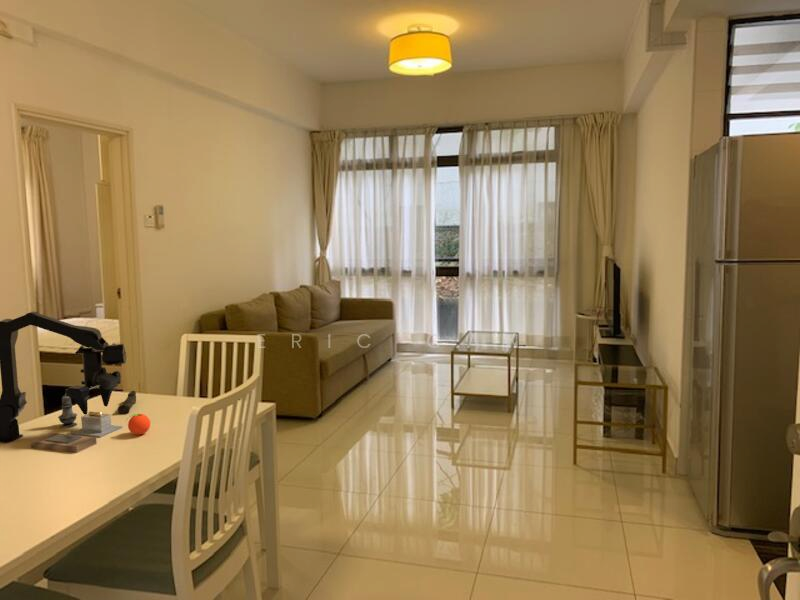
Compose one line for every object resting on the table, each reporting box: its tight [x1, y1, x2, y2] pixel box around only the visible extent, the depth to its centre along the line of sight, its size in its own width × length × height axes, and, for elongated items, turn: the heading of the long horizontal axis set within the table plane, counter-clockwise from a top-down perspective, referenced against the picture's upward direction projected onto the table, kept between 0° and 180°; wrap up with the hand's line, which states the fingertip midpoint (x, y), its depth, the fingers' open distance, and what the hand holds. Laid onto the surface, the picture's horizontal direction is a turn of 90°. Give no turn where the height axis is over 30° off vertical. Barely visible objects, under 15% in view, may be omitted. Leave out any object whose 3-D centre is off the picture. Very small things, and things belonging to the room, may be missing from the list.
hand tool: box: [117, 390, 137, 415], centre depth 230 cm, size 19×4×5 cm, turn 10°
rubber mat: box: [70, 424, 123, 438], centre depth 203 cm, size 12×10×1 cm
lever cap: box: [80, 411, 112, 433], centre depth 203 cm, size 8×4×6 cm, turn 75°
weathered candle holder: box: [58, 392, 78, 429], centre depth 208 cm, size 6×6×12 cm
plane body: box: [30, 432, 97, 454], centre depth 190 cm, size 18×8×2 cm, turn 75°
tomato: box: [125, 413, 151, 436], centre depth 200 cm, size 8×7×7 cm
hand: (95, 410), depth 202 cm, fingers open, 9 cm apart
